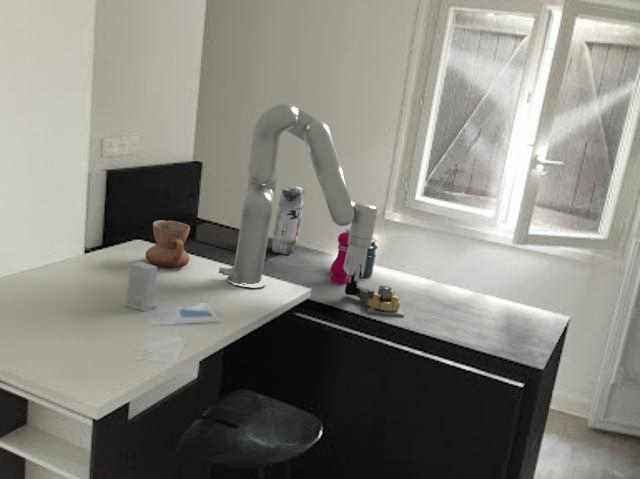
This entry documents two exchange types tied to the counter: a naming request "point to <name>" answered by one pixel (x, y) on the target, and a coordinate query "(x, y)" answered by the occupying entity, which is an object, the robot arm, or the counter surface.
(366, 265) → the canister
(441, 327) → the counter surface
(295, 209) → the juice carton
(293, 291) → the counter surface
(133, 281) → the skincare box
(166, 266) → the ceramic jug
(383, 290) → the grey mounting base
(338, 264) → the pepper mill
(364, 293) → the yellow mechanical assembly
